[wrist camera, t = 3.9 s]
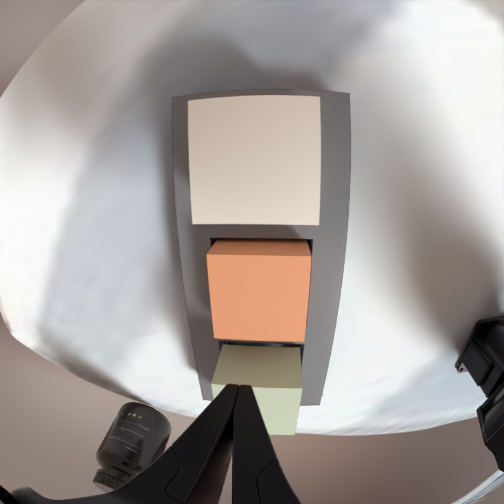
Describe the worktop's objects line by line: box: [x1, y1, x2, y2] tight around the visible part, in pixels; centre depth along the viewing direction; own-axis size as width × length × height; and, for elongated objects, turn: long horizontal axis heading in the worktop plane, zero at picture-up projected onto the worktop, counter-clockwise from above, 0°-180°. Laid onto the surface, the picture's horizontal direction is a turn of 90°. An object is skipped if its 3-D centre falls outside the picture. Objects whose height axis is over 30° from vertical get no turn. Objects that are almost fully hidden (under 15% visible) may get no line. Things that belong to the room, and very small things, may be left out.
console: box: [172, 89, 351, 406], centre depth 18 cm, size 10×23×2 cm, turn 1°
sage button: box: [211, 344, 303, 435], centre depth 18 cm, size 5×5×4 cm
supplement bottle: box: [93, 402, 171, 493], centre depth 22 cm, size 7×7×12 cm
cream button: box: [188, 95, 321, 225], centre depth 13 cm, size 5×5×4 cm
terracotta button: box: [207, 238, 312, 342], centre depth 17 cm, size 5×5×4 cm
